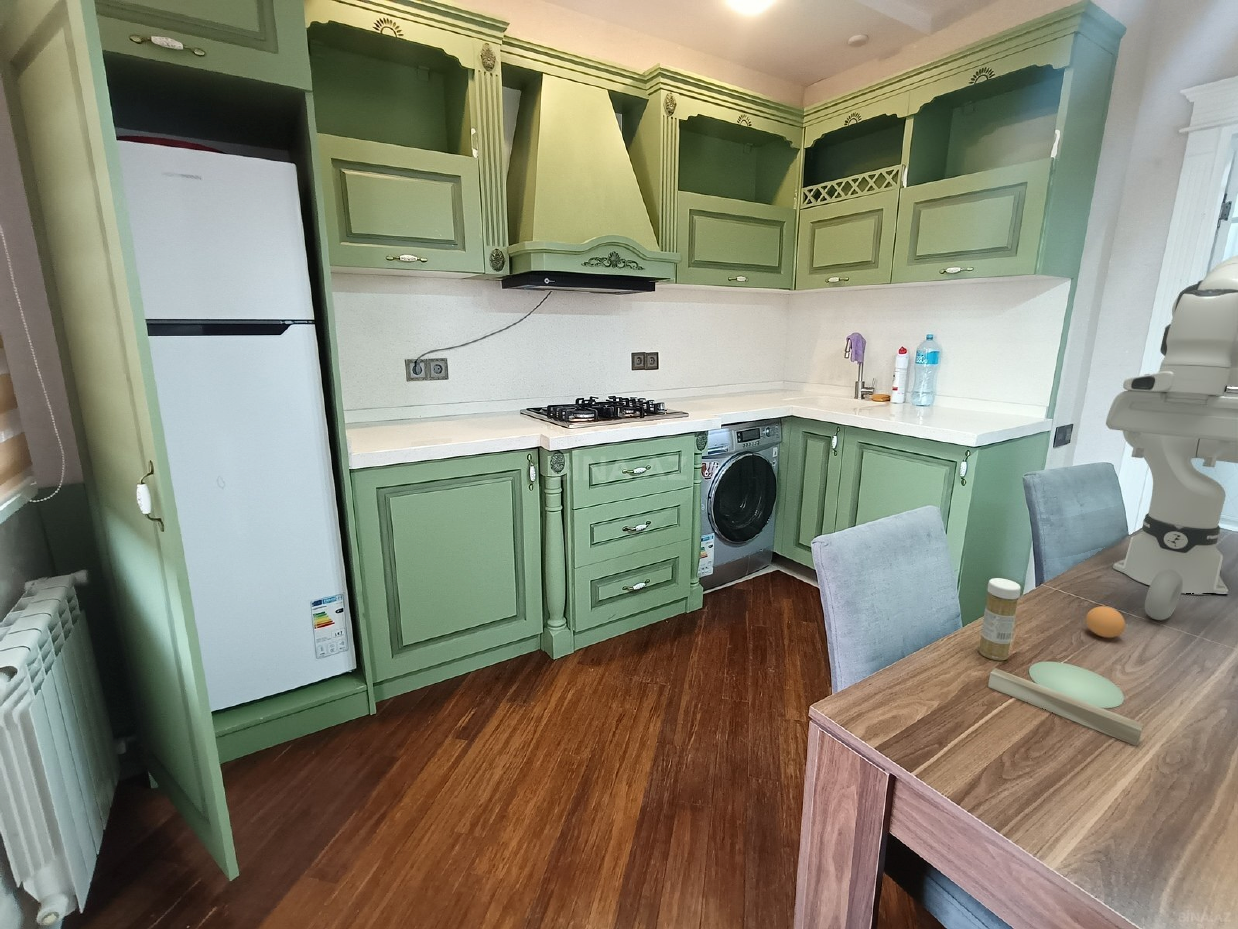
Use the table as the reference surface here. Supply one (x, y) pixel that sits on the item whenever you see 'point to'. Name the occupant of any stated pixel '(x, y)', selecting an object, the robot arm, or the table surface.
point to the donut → (1163, 594)
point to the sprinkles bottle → (999, 618)
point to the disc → (1077, 683)
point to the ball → (1105, 622)
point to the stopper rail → (1067, 706)
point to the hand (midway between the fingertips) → (1171, 461)
